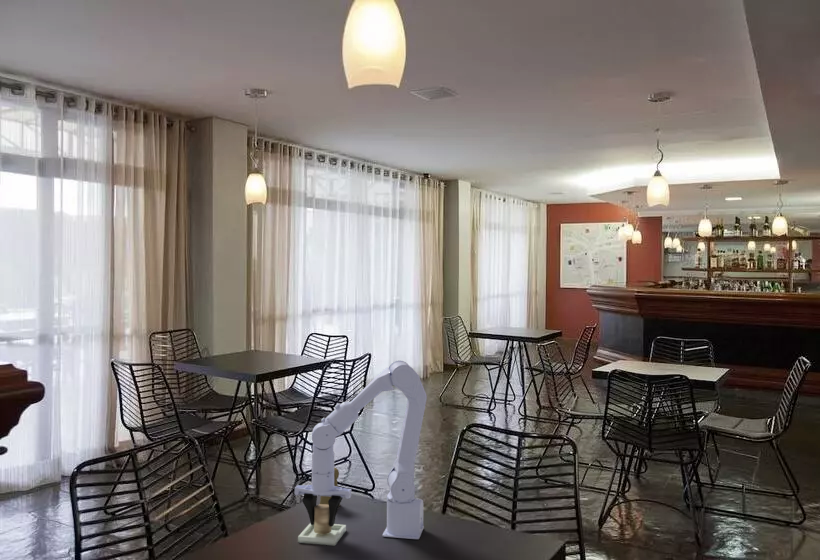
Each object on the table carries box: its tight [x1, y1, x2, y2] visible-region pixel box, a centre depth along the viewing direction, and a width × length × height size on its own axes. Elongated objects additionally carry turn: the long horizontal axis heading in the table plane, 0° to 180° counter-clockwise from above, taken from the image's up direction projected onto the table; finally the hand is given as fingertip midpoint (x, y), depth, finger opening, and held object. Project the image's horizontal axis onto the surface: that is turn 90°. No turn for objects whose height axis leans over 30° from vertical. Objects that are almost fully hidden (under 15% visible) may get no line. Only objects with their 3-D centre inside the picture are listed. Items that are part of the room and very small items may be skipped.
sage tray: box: [297, 522, 347, 547], centre depth 162 cm, size 10×10×2 cm
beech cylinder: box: [314, 503, 331, 534], centre depth 162 cm, size 4×4×6 cm
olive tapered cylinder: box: [319, 466, 341, 507], centre depth 184 cm, size 6×6×11 cm
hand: (322, 524), depth 162 cm, fingers closed on beech cylinder, 4 cm apart
